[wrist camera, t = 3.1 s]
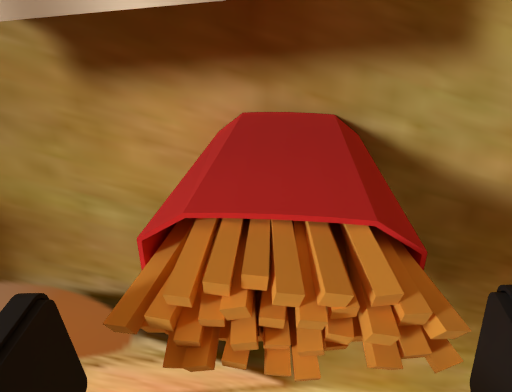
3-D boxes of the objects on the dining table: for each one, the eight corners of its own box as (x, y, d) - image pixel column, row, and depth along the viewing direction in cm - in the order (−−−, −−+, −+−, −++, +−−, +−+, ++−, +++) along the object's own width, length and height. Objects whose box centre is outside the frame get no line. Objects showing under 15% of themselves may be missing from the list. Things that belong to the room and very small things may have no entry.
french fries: (204, 186, 22) (110, 405, 11) (198, 107, 20) (78, 282, 9) (381, 193, 21) (459, 434, 10) (392, 111, 19) (503, 306, 8)
